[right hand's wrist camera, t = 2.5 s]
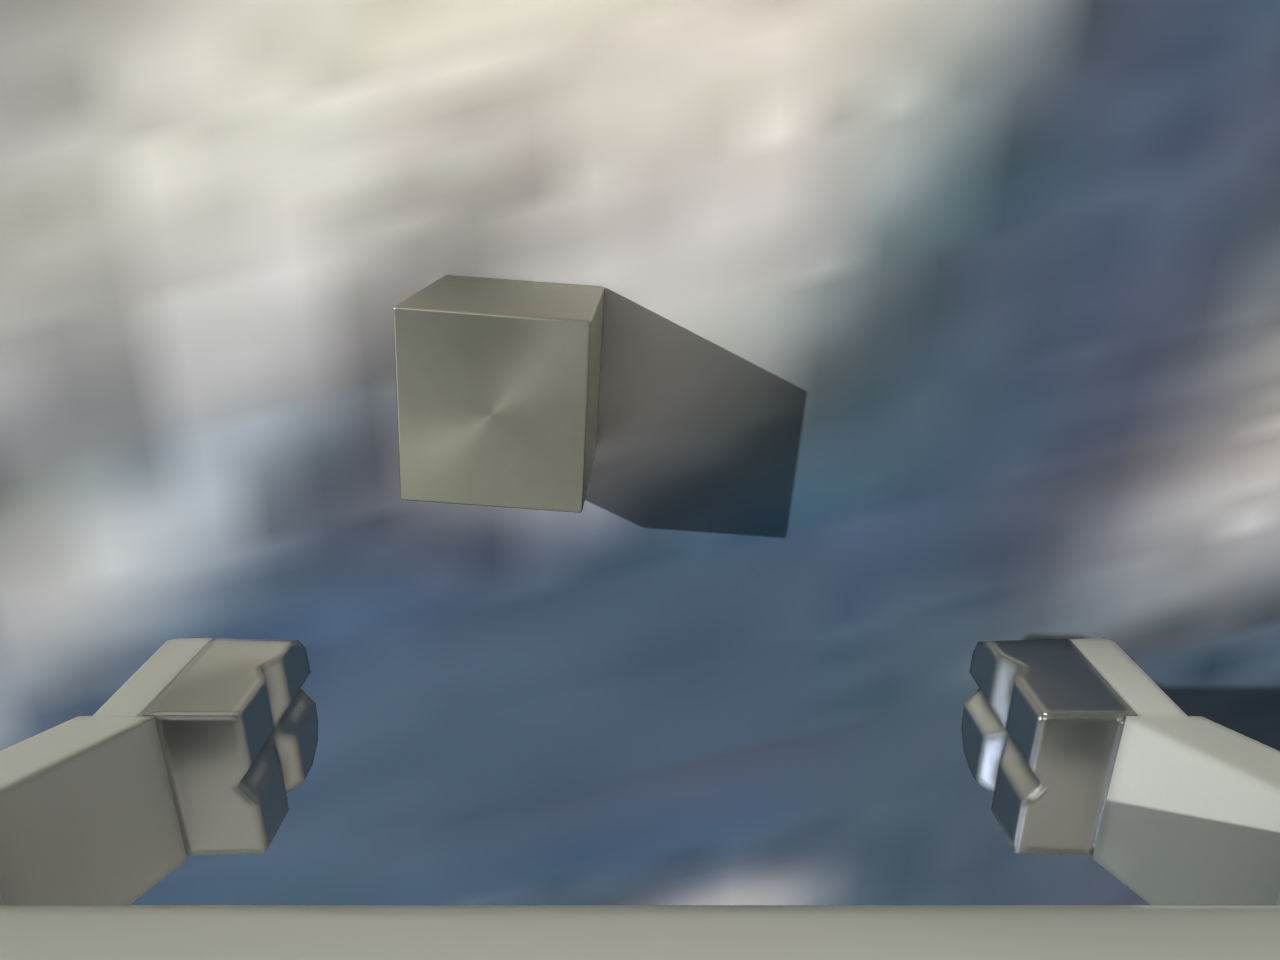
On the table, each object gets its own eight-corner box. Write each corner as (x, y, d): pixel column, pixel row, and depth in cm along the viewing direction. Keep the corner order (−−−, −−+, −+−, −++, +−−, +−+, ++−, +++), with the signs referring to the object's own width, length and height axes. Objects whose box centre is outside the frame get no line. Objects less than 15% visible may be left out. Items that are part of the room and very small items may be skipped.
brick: (444, 274, 23) (391, 306, 18) (605, 286, 23) (591, 320, 18) (446, 436, 24) (399, 500, 20) (596, 446, 24) (581, 513, 20)
